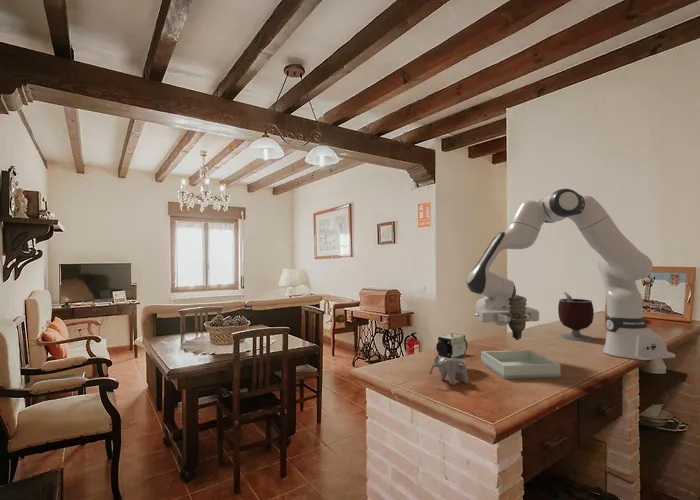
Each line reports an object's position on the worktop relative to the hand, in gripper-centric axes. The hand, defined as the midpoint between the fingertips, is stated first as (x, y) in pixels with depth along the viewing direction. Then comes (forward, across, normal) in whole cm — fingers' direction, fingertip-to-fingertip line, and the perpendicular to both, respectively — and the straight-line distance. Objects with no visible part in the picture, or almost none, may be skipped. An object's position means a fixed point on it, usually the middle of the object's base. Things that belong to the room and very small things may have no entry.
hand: (518, 319), depth 127 cm
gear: (-21, -15, +17) cm, 31 cm away
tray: (-1, 0, +17) cm, 17 cm away
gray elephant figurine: (+10, -27, +17) cm, 34 cm away
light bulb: (-1, 0, +7) cm, 7 cm away
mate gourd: (-46, +49, +17) cm, 69 cm away
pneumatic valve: (-4, -21, +17) cm, 27 cm away
